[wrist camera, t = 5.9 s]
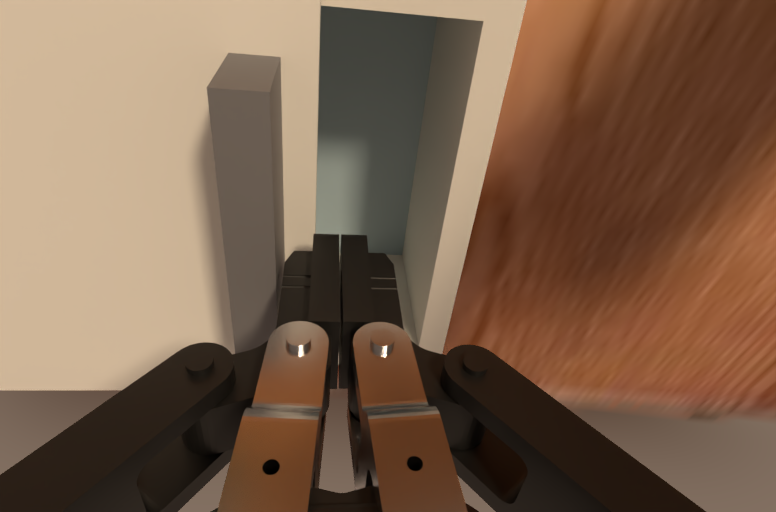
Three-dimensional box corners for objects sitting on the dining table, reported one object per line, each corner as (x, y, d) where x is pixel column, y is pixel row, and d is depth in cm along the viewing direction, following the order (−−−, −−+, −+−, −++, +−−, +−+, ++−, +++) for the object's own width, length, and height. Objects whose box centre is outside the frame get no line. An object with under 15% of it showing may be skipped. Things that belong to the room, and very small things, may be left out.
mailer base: (470, -50, 18) (531, -19, 12) (417, 262, 26) (439, 365, 21) (-162, -122, 16) (-443, -124, 10) (-3, 248, 24) (-107, 362, 18)
